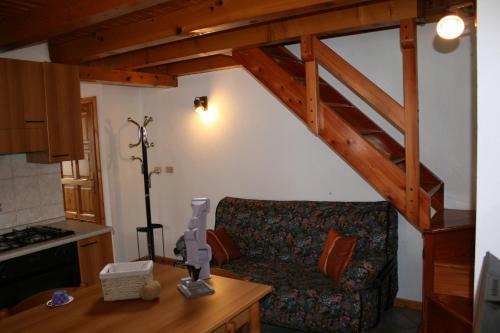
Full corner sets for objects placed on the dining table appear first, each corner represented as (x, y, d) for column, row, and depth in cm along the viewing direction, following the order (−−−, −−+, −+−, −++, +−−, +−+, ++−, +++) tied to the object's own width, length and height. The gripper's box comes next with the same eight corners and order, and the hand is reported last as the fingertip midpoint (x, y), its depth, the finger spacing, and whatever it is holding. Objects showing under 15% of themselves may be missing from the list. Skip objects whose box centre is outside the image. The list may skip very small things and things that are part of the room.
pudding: (63, 307, 190) (62, 297, 190) (41, 307, 193) (40, 296, 192) (78, 297, 202) (77, 287, 202) (57, 297, 204) (57, 287, 204)
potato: (166, 293, 201) (165, 277, 201) (155, 304, 187) (154, 288, 187) (147, 292, 202) (146, 277, 202) (135, 304, 189) (134, 287, 188)
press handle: (186, 286, 203) (185, 272, 203) (201, 283, 207) (200, 269, 206) (187, 288, 201) (187, 273, 200) (203, 284, 204) (202, 270, 204)
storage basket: (100, 303, 193) (98, 273, 192) (109, 290, 209) (107, 263, 208) (150, 298, 195) (148, 269, 194) (155, 286, 211) (153, 259, 210)
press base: (177, 287, 208) (176, 279, 208) (202, 282, 214) (202, 273, 214) (187, 299, 192) (186, 289, 192) (214, 292, 198) (214, 283, 198)
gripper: (180, 250, 207) (182, 276, 208) (189, 257, 194) (191, 284, 195) (193, 248, 210) (195, 273, 211) (202, 254, 197) (204, 281, 198)
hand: (194, 278), depth 204 cm, fingers open, 6 cm apart
